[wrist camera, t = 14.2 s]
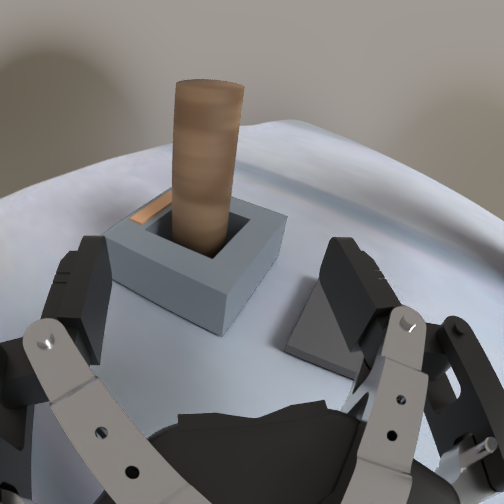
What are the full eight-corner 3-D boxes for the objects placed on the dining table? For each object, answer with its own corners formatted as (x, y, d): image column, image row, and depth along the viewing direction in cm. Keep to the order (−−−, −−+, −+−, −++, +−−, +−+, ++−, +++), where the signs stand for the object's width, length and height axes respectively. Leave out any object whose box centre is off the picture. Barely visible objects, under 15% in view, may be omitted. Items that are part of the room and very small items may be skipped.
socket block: (181, 217, 31) (182, 178, 28) (278, 255, 28) (288, 214, 26) (109, 276, 23) (100, 232, 21) (222, 336, 21) (227, 292, 18)
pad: (318, 279, 26) (321, 272, 26) (405, 314, 24) (410, 307, 24) (284, 351, 20) (286, 344, 20) (393, 393, 18) (399, 388, 18)
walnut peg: (191, 245, 28) (201, 77, 19) (232, 262, 27) (255, 86, 18) (163, 271, 25) (162, 84, 16) (206, 292, 24) (222, 93, 15)
